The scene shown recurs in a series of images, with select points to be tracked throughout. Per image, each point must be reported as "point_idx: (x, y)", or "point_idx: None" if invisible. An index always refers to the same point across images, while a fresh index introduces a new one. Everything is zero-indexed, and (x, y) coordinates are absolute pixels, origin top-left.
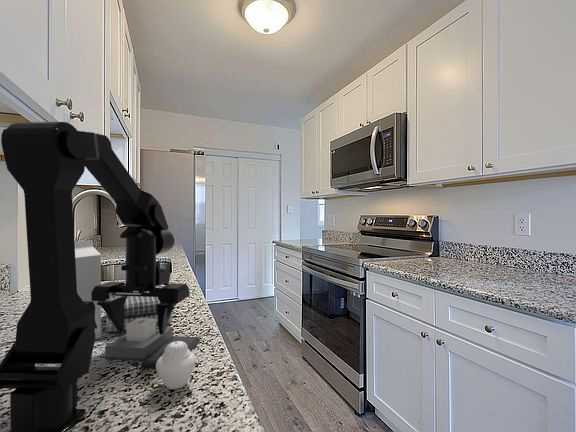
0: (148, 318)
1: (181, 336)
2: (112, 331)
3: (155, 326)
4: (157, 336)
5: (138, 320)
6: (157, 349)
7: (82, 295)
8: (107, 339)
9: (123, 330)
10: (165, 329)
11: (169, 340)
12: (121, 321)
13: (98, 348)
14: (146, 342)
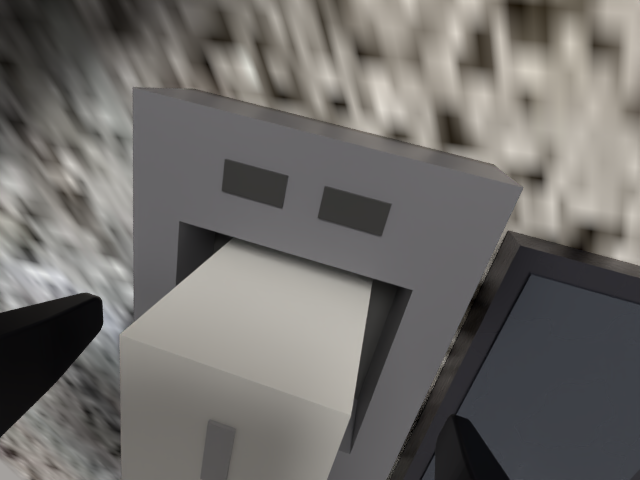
0: (251, 385)
1: (600, 267)
2: None
3: (360, 355)
4: (405, 389)
5: (168, 414)
6: (428, 438)
7: None
8: (12, 126)
9: (97, 300)
10: (485, 445)
11: (490, 326)
12: (13, 368)
13: (62, 260)
14: (353, 461)
